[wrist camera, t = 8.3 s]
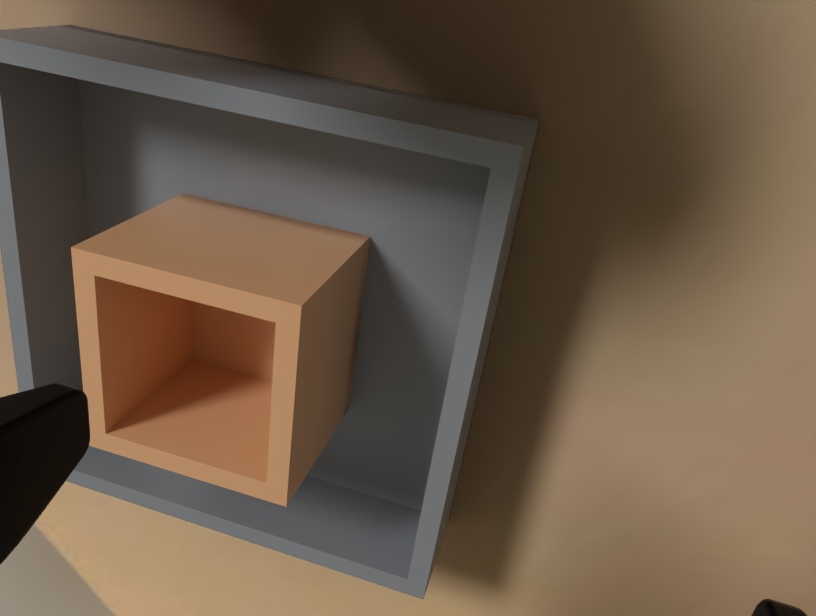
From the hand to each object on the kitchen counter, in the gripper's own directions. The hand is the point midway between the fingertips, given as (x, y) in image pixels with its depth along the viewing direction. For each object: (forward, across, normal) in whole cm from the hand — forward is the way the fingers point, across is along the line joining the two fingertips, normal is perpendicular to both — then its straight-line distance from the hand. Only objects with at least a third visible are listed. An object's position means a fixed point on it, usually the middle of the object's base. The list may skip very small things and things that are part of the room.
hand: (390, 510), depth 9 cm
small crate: (+12, +7, +4) cm, 14 cm away
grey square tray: (+12, +7, +4) cm, 14 cm away
